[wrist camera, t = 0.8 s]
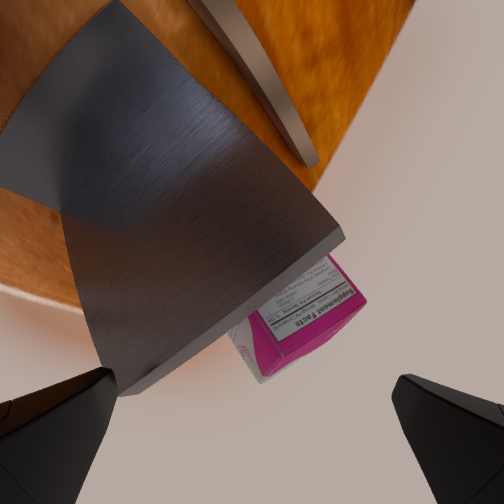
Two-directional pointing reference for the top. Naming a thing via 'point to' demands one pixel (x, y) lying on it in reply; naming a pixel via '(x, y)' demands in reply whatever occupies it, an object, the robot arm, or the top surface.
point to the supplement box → (297, 319)
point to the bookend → (156, 198)
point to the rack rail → (257, 72)
